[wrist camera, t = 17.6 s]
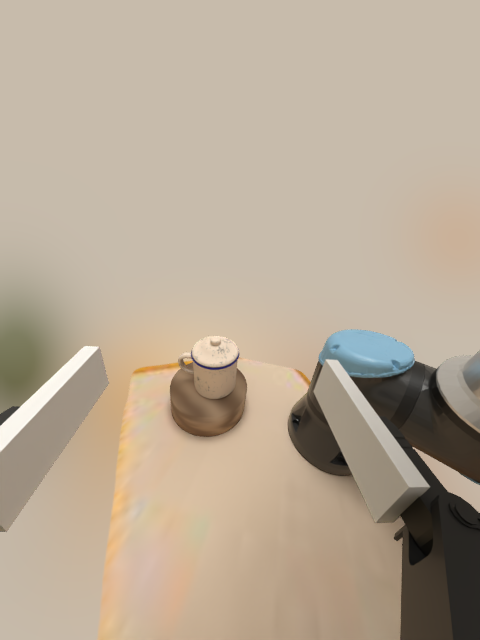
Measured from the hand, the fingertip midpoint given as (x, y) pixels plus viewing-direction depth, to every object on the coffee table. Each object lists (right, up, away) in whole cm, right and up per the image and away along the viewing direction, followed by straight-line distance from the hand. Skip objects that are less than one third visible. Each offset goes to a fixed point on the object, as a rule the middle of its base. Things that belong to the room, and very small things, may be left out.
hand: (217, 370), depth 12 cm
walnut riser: (-6, -16, +34) cm, 38 cm away
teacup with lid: (-5, -10, +31) cm, 34 cm away
